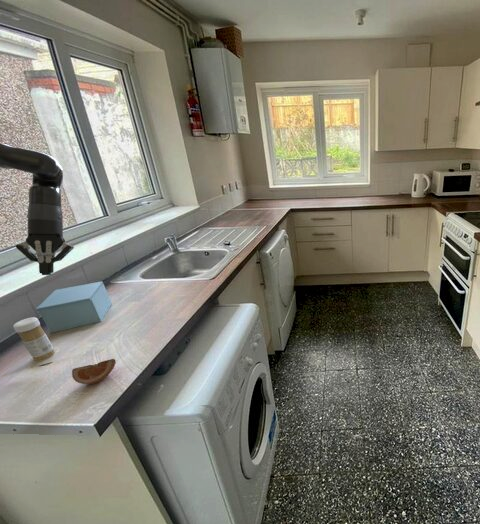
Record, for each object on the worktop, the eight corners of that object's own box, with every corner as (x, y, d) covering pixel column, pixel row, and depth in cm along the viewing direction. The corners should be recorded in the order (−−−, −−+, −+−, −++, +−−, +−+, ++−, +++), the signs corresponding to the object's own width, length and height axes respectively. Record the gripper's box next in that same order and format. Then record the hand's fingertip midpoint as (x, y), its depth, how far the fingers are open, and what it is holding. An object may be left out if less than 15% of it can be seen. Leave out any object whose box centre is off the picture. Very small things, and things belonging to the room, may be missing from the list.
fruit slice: (122, 365, 78) (116, 351, 76) (116, 382, 72) (108, 367, 71) (84, 376, 75) (76, 361, 73) (74, 394, 69) (65, 379, 67)
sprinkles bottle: (52, 354, 84) (30, 315, 79) (62, 357, 82) (40, 318, 77) (32, 365, 80) (8, 325, 75) (42, 368, 78) (18, 327, 73)
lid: (90, 300, 95) (89, 298, 95) (36, 311, 90) (35, 309, 90) (103, 283, 107) (102, 281, 107) (56, 291, 102) (55, 289, 102)
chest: (101, 321, 99) (91, 299, 96) (50, 332, 94) (37, 310, 91) (111, 303, 111) (103, 283, 107) (67, 313, 106) (56, 292, 102)
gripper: (78, 222, 96) (78, 274, 96) (21, 220, 90) (22, 275, 90) (69, 219, 90) (70, 274, 90) (8, 216, 83) (9, 276, 83)
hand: (46, 275), depth 90 cm, fingers closed
